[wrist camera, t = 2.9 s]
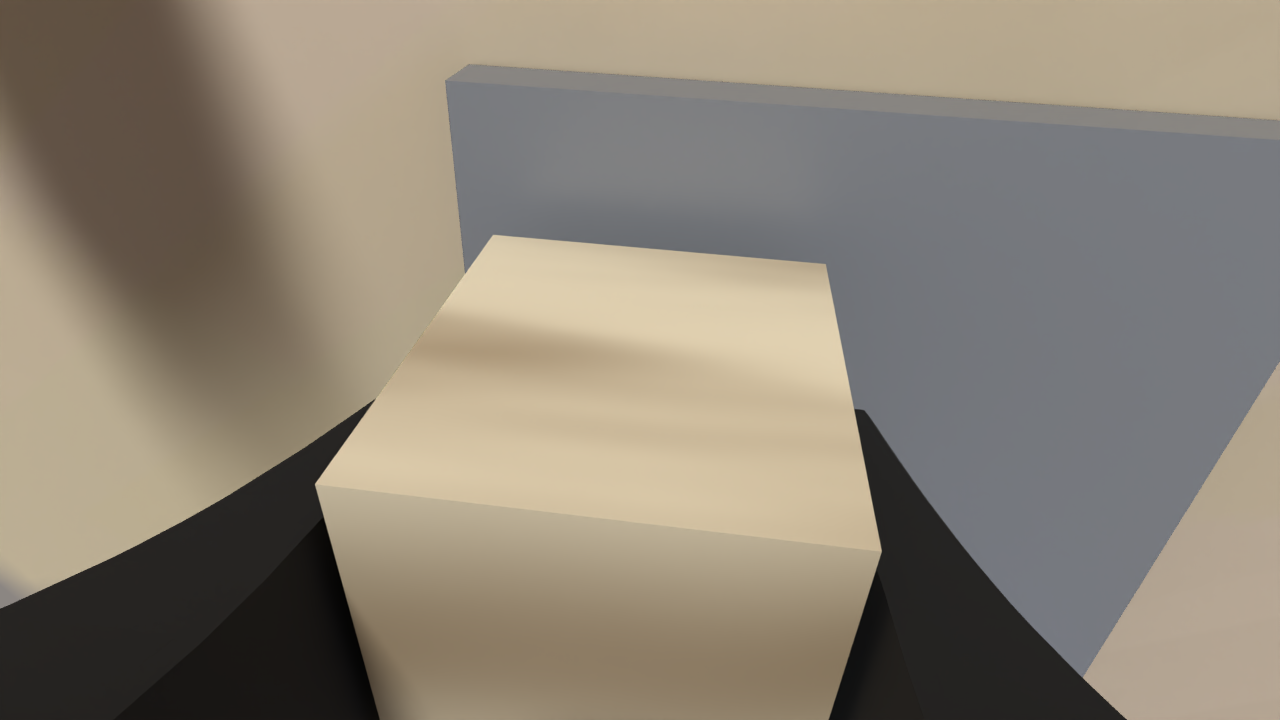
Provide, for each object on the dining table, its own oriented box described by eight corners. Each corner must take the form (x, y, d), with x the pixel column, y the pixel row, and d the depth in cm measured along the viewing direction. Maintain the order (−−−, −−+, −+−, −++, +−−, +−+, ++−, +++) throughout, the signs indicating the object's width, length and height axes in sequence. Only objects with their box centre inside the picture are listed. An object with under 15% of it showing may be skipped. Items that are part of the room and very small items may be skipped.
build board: (967, 805, 20) (976, 846, 19) (526, 741, 21) (517, 778, 20) (1355, 126, 10) (1411, 150, 9) (468, 64, 11) (445, 80, 10)
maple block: (777, 510, 12) (791, 836, 8) (511, 479, 13) (395, 775, 8) (825, 263, 10) (881, 551, 6) (493, 234, 10) (314, 483, 6)
